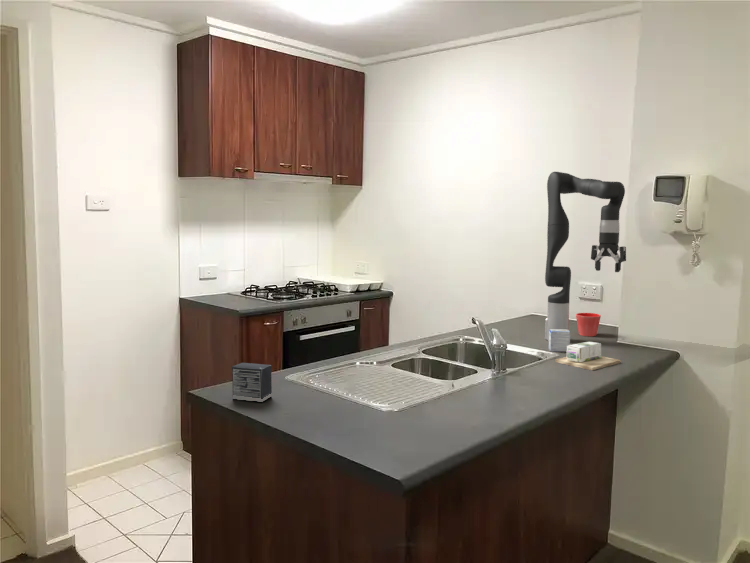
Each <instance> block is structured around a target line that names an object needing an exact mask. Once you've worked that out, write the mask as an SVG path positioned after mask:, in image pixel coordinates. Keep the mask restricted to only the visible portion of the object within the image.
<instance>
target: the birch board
mask: <svg viewBox="0 0 750 563" xmlns="http://www.w3.org/2000/svg"><path fill="white" fill-rule="evenodd" d="M621 361H622V359H617V358H612V357H607V356H603V355H601V358H597V359H593V360H588V361H584V362H575V361H569V360H567V356H564V357H560V358H556V359H555V358H554V362H555V363H558V364H562V365H567V366H571V367H575V368H578V369H580V368H581V369H584V370H589V371H596V370H599V369H603V368H605V367H606V368H607V367H610V366H614V365H618V364H620V363H621ZM621 364H622V363H621Z"/></svg>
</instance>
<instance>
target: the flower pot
mask: <svg viewBox="0 0 750 563" xmlns="http://www.w3.org/2000/svg"><path fill="white" fill-rule="evenodd" d="M575 318H576V324H577V330H578V335H579V336H582V337H596V336H597V334H598V330H599V326H600V322H601V314H598V313H594V312H593V313H592V312H578V313H576V314H575Z"/></svg>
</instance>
